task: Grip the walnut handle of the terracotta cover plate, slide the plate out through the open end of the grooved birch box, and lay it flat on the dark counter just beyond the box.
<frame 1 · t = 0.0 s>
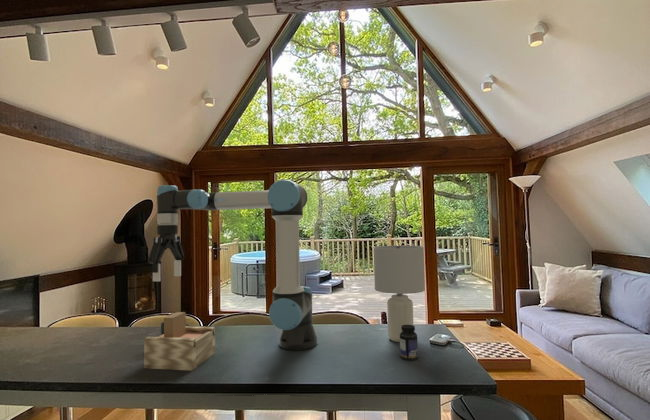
hand: (167, 278, 140), 28 cm above the table, fingers open, 13 cm apart
lamp: (401, 339, 147), on the table
cover plate: (179, 340, 129), point 7 cm above the table, touching birch box
pill bottle: (409, 358, 127), on the table
birch box: (181, 360, 129), on the table
mug: (176, 346, 144), on the table
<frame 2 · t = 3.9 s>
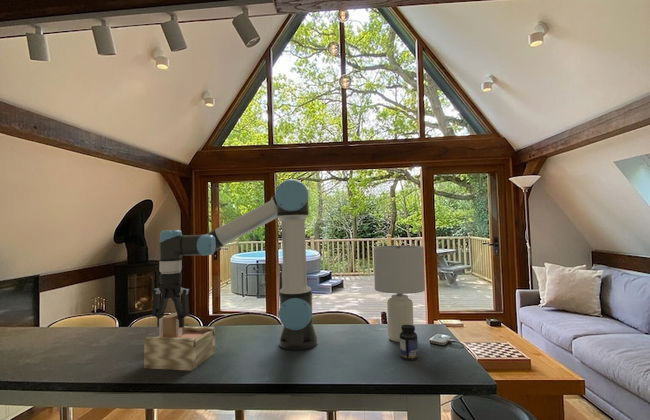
hand: (170, 336, 130), 9 cm above the table, fingers open, 6 cm apart
cover plate: (177, 340, 129), point 7 cm above the table, touching birch box, gripper
everything else where it was.
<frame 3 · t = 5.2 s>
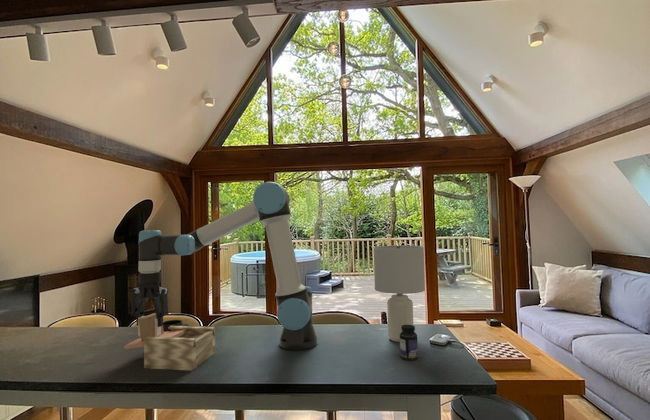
hand: (149, 335, 131), 9 cm above the table, fingers open, 6 cm apart
cover plate: (157, 340, 130), point 7 cm above the table, tilted 9°, touching birch box, gripper
everything else where it was.
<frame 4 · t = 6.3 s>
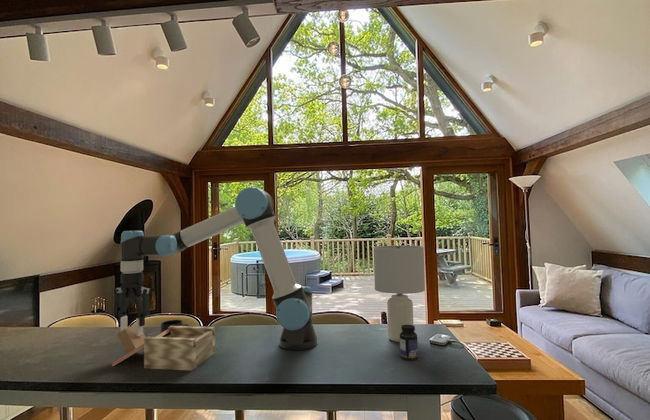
hand: (131, 334, 132), 9 cm above the table, fingers open, 6 cm apart
cover plate: (143, 347, 131), point 4 cm above the table, tilted 30°, touching gripper
everything else where it was.
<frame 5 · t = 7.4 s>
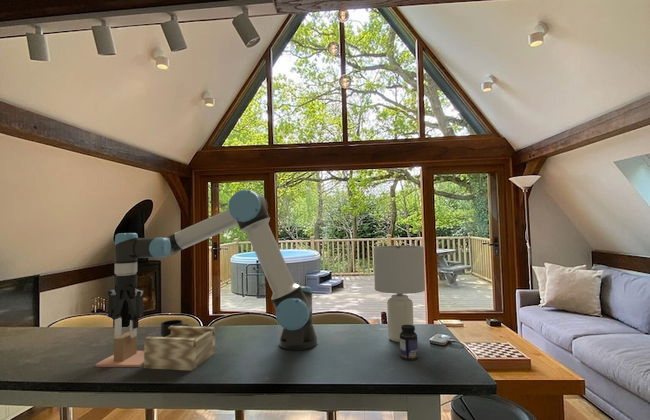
hand: (125, 336, 133), 8 cm above the table, fingers open, 6 cm apart
cover plate: (129, 360, 131), on the table
everything else where it was.
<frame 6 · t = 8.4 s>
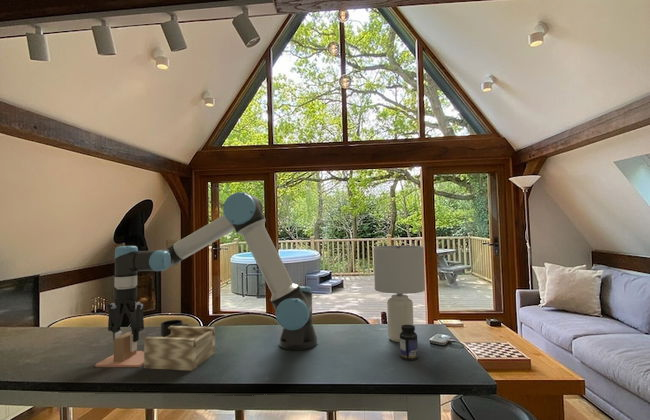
hand: (125, 350, 132), 3 cm above the table, fingers open, 6 cm apart
cover plate: (129, 360, 130), on the table, touching gripper
everything else where it was.
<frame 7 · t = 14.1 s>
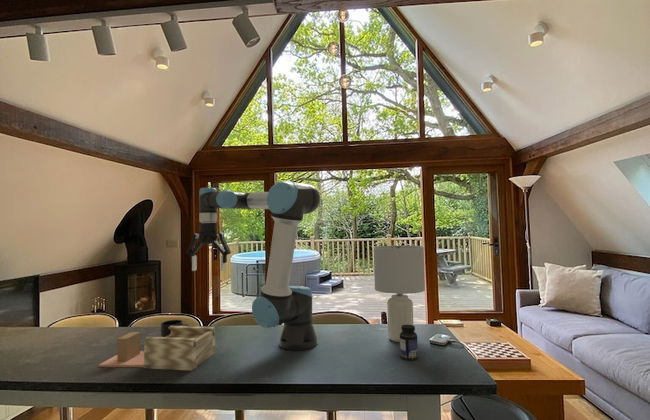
hand: (208, 270, 158), 29 cm above the table, fingers open, 13 cm apart
cover plate: (133, 360, 130), on the table
everything else where it was.
at the end: cover plate inside the target area (4.8 cm from its centre), on the table; cover plate tilted 0°; the gripper is holding nothing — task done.
